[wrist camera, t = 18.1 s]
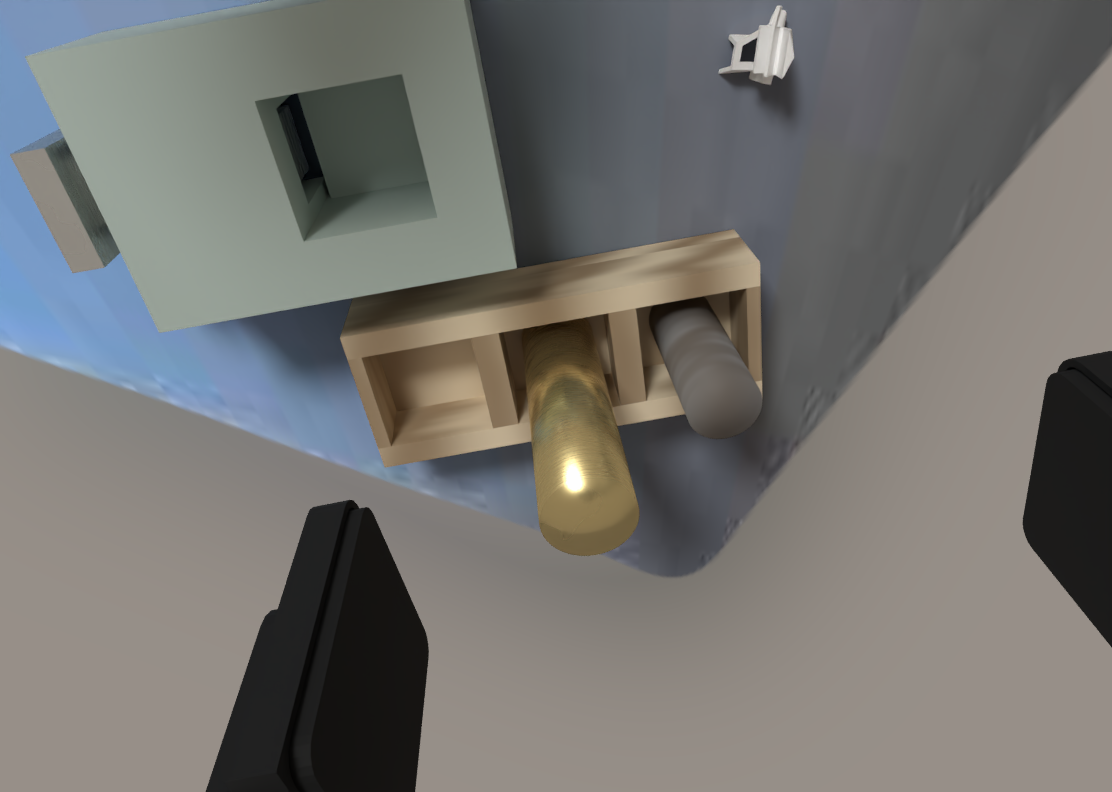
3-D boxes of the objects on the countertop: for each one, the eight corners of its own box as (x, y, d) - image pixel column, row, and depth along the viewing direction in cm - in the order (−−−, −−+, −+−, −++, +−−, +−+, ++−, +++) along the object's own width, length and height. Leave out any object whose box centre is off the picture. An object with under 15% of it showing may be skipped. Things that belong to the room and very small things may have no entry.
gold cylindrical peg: (587, 300, 36) (634, 470, 25) (596, 362, 38) (644, 546, 27) (515, 313, 36) (531, 488, 25) (528, 374, 38) (547, 563, 27)
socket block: (462, -35, 30) (459, -24, 24) (511, 216, 35) (517, 268, 30) (102, 32, 30) (24, 56, 25) (205, 271, 35) (159, 332, 30)
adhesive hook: (773, 79, 33) (799, 94, 31) (713, 78, 33) (734, 93, 30) (786, 0, 32) (814, 7, 29) (723, -2, 31) (746, 6, 29)
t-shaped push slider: (280, 81, 31) (246, 111, 26) (316, 189, 33) (289, 233, 29) (79, 118, 31) (9, 154, 26) (128, 223, 33) (72, 273, 29)
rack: (733, 229, 36) (801, 313, 28) (738, 358, 40) (799, 464, 32) (352, 298, 36) (319, 400, 29) (392, 420, 40) (372, 539, 32)
